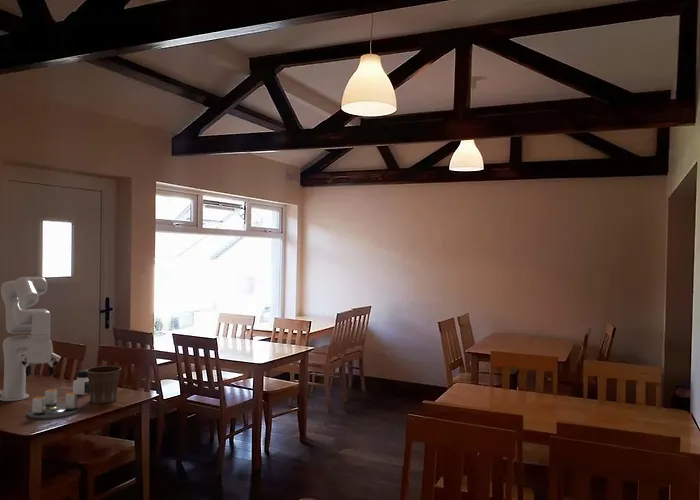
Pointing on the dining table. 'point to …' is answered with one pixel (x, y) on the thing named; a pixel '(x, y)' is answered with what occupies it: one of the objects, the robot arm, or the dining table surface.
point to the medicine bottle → (81, 383)
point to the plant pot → (103, 383)
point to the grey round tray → (53, 412)
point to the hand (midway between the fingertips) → (39, 375)
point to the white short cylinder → (71, 401)
